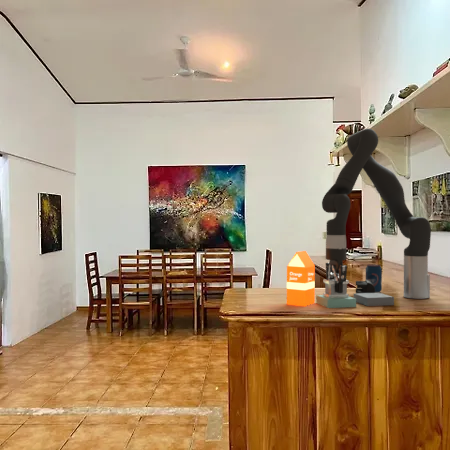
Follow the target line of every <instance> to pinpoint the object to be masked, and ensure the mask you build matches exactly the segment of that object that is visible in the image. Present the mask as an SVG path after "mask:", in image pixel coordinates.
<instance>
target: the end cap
mask: <svg viewBox="0 0 450 450" xmlns="http://www.w3.org/2000/svg"><path fill="white" fill-rule="evenodd" d="M355 286H356V287H355V293H375V287H374V285H373V284H372V283H371V282H370V281H369V280H366V279H365V280H356V281H355Z"/></svg>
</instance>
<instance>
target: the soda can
mask: <svg viewBox="0 0 450 450" xmlns="http://www.w3.org/2000/svg"><path fill="white" fill-rule="evenodd" d="M382 269H383V268H382V267H381V264H376V263H375V264H373V263H372V264H371V263H370V264H367V265H366V267H365V280H369V281H370V282H371V283H372V284H373V285H374V287H375V293H381V292H382V290H383V283H382V282H383V273H382V272H383V271H382Z"/></svg>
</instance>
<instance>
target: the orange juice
mask: <svg viewBox="0 0 450 450" xmlns="http://www.w3.org/2000/svg"><path fill="white" fill-rule="evenodd" d="M315 266H316V265H315V263H314V262H313V260H312V258H311V257H310V256H309V253H307V250H302V251H296V252H295V254H294V255H293V257H292V258H291V260H290V261H289V262H288V264H287V266H286V305H289V306H297V307H307V305H308V306H310V304H311V305H313V304H315V303H316V302H315V299H316V296H315V293H316V292H315V291H316V290H315V287H316V285H315V284H316V283H315V278H316V277H315V276H316V274H315V272H316V271H315V270H316V268H315Z"/></svg>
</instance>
